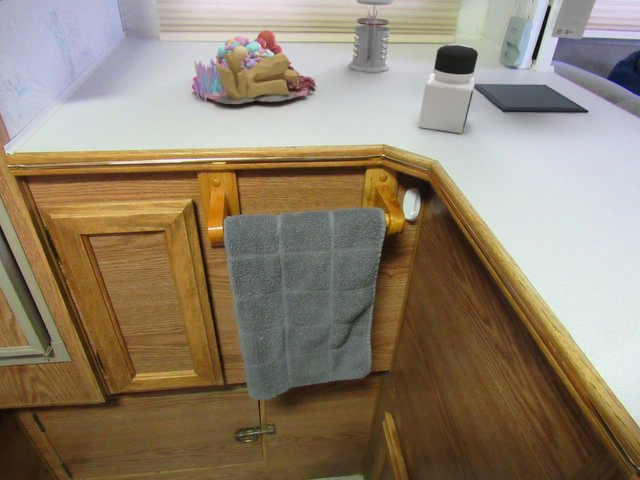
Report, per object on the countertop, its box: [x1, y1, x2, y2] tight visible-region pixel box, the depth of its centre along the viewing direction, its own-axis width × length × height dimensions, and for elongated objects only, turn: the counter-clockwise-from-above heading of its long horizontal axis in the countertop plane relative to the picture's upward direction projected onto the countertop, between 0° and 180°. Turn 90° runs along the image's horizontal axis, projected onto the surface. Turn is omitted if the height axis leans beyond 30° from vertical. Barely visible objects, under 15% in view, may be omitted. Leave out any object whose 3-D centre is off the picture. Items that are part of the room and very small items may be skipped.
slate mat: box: [474, 83, 589, 114], centre depth 83 cm, size 16×16×1 cm
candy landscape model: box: [191, 29, 317, 105], centre depth 81 cm, size 25×24×9 cm
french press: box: [348, 0, 395, 73], centre depth 92 cm, size 10×12×25 cm
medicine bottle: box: [418, 44, 479, 135], centre depth 67 cm, size 7×7×12 cm
